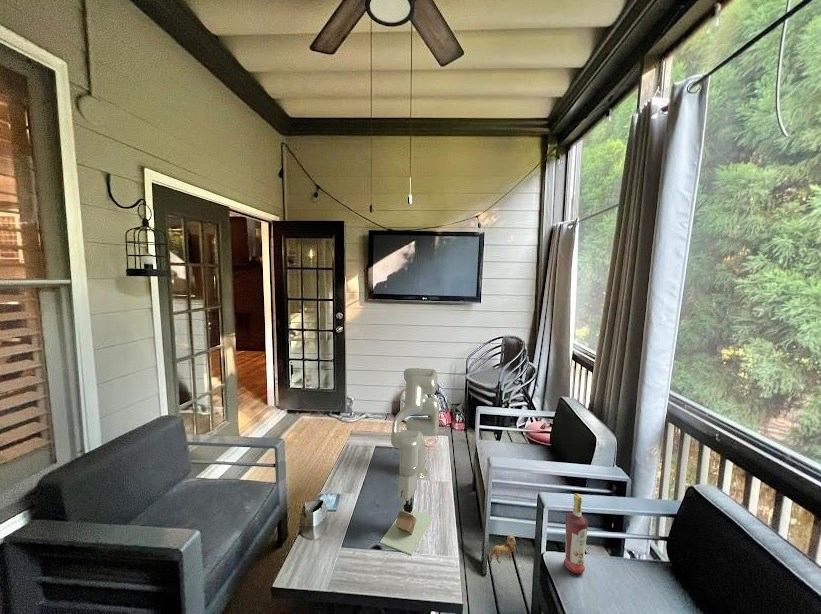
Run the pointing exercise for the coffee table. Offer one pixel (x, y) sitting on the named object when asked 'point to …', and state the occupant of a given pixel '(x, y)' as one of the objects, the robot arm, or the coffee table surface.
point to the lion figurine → (504, 549)
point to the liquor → (575, 537)
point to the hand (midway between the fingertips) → (408, 511)
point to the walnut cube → (406, 522)
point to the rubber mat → (407, 534)
